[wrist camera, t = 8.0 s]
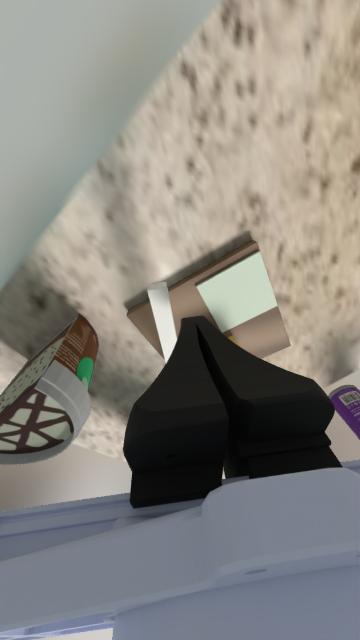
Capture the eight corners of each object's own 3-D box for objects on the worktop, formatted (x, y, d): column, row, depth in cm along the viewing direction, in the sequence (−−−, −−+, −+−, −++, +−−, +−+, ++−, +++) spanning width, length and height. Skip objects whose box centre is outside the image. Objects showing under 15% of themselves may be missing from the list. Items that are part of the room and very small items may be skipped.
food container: (67, 390, 27) (25, 481, 18) (21, 366, 24) (-54, 461, 15) (132, 339, 23) (118, 422, 15) (88, 305, 20) (40, 383, 12)
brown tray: (286, 340, 26) (318, 377, 20) (189, 384, 28) (196, 425, 23) (252, 239, 18) (288, 257, 13) (128, 310, 21) (118, 347, 16)
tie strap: (172, 279, 13) (173, 287, 12) (193, 400, 20) (194, 411, 19) (142, 284, 13) (140, 292, 12) (173, 403, 20) (174, 414, 19)
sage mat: (276, 304, 21) (277, 305, 21) (221, 331, 23) (222, 332, 22) (258, 250, 18) (260, 251, 18) (195, 285, 19) (196, 286, 19)
